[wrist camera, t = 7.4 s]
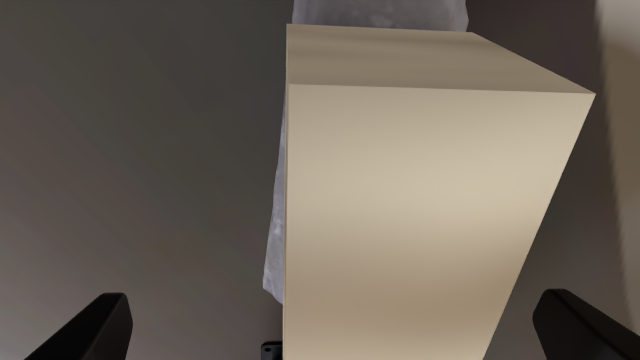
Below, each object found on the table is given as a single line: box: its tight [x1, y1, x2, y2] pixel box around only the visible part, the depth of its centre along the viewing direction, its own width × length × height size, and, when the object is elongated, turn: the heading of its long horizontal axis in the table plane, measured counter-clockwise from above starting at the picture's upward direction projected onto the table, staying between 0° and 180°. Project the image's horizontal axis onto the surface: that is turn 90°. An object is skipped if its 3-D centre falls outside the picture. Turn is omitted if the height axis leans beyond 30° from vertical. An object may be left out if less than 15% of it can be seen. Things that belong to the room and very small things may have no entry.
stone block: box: [263, 0, 469, 305], centre depth 15 cm, size 12×5×10 cm, turn 169°
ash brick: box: [283, 24, 596, 360], centre depth 9 cm, size 8×4×4 cm, turn 177°
